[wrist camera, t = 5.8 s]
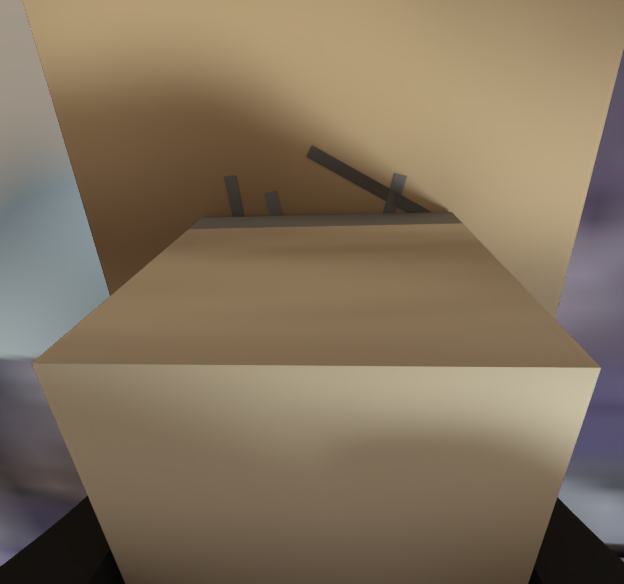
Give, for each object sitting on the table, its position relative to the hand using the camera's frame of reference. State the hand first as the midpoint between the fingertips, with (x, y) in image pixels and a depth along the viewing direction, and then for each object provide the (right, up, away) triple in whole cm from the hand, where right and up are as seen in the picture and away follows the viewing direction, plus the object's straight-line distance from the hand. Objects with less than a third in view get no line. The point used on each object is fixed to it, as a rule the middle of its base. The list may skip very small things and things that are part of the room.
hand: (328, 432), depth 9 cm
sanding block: (0, +1, +1) cm, 1 cm away
